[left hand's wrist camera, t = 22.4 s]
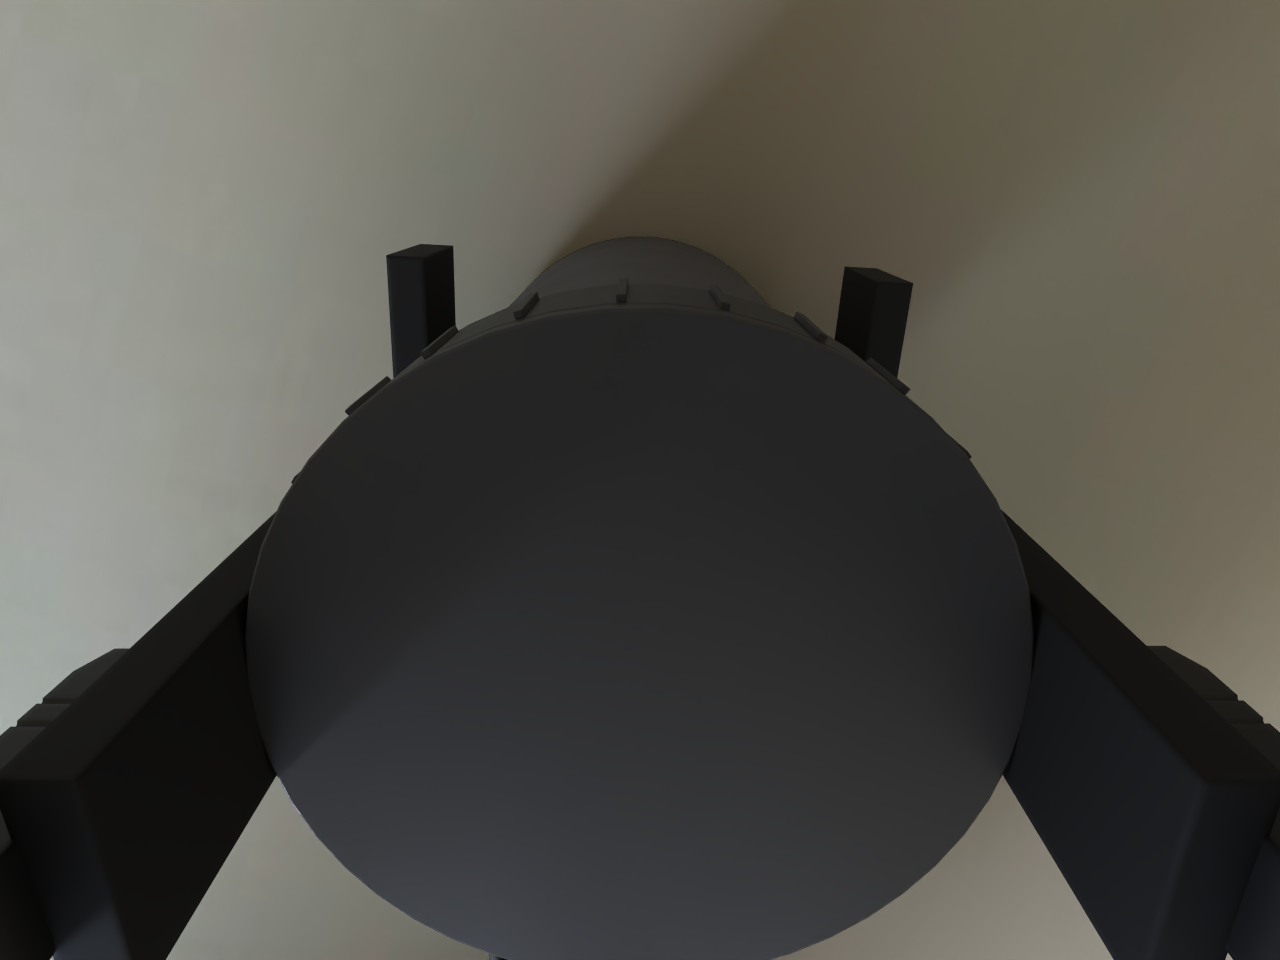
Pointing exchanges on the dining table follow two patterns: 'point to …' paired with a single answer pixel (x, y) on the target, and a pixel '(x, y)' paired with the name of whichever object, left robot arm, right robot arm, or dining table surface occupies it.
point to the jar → (640, 268)
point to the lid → (639, 633)
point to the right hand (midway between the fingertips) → (650, 262)
